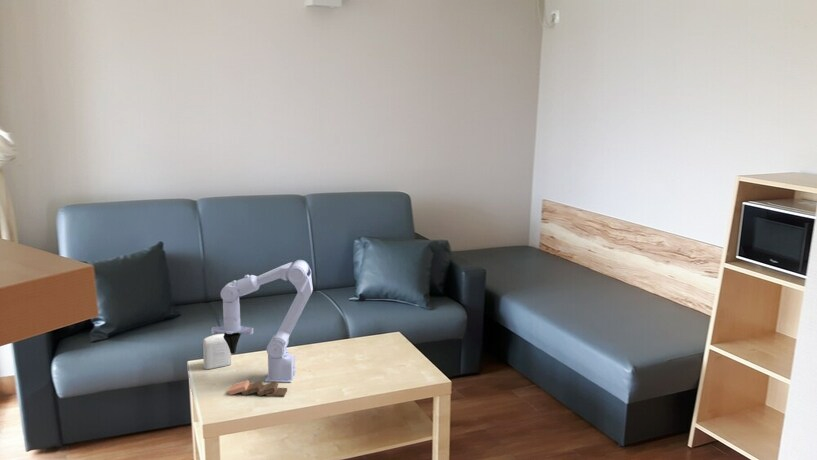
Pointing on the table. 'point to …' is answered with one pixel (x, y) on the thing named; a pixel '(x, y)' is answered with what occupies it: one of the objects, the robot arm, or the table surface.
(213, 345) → the white box with text
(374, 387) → the table surface
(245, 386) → the terracotta domino
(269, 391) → the walnut domino
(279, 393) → the walnut domino
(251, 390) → the walnut domino
